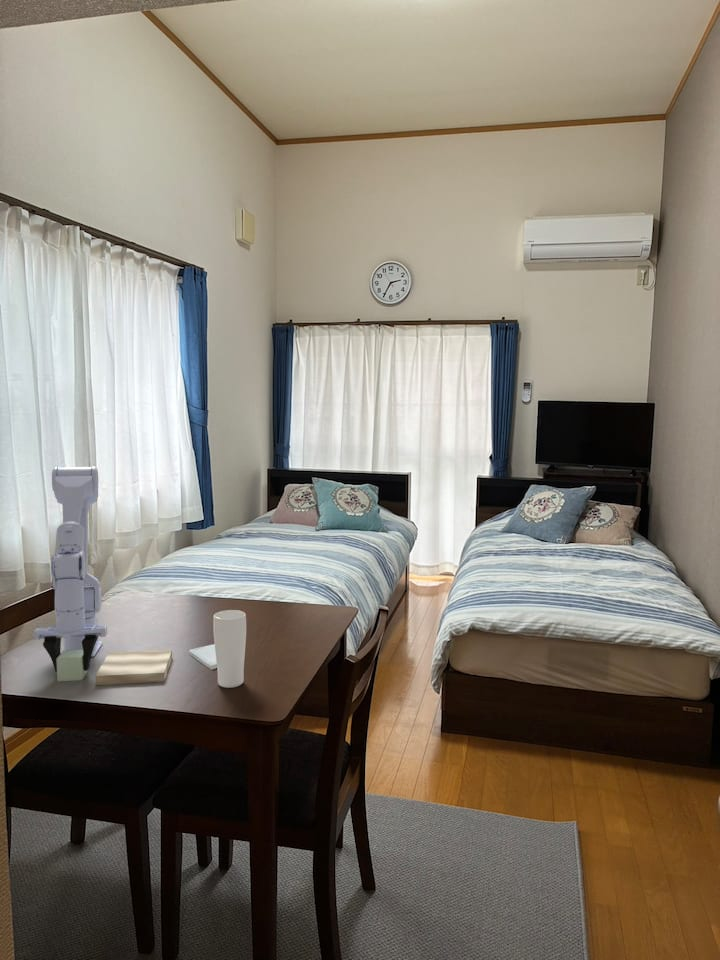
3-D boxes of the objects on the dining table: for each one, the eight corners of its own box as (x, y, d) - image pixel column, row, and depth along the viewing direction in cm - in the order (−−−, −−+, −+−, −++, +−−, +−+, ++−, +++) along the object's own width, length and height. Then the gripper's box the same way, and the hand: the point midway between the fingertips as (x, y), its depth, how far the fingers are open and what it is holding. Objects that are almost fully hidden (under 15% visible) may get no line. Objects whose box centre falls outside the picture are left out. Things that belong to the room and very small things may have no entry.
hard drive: (188, 649, 165) (210, 665, 155) (220, 642, 170) (244, 657, 160) (188, 656, 165) (211, 672, 155) (220, 649, 170) (244, 664, 160)
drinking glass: (233, 692, 143) (231, 621, 141) (207, 686, 146) (206, 616, 144) (253, 681, 148) (252, 612, 147) (228, 675, 152) (227, 608, 150)
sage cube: (63, 672, 153) (62, 650, 153) (87, 671, 154) (86, 649, 153) (57, 681, 148) (56, 658, 148) (82, 680, 149) (81, 657, 148)
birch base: (109, 661, 160) (109, 652, 160) (172, 658, 162) (172, 649, 162) (95, 685, 146) (95, 676, 146) (164, 681, 148) (164, 672, 148)
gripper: (28, 615, 145) (31, 678, 146) (101, 612, 147) (103, 674, 148) (38, 605, 151) (41, 665, 153) (108, 603, 154) (110, 662, 155)
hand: (72, 669), depth 151 cm, fingers open, 5 cm apart
